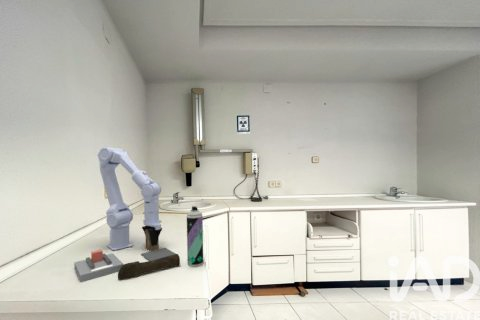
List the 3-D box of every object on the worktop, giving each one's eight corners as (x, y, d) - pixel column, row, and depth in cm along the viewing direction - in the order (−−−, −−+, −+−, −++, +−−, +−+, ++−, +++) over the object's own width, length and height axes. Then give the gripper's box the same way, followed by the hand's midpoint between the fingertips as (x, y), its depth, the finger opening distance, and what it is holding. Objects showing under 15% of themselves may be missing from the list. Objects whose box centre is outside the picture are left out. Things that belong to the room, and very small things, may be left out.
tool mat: (140, 254, 92) (140, 253, 92) (165, 248, 98) (165, 247, 98) (150, 262, 84) (150, 261, 84) (176, 254, 91) (176, 253, 91)
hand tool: (177, 263, 83) (177, 250, 83) (180, 267, 80) (180, 253, 80) (117, 277, 73) (117, 262, 73) (118, 283, 70) (118, 267, 70)
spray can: (186, 262, 83) (185, 206, 84) (201, 259, 85) (200, 204, 86) (188, 268, 78) (187, 208, 79) (204, 265, 80) (203, 206, 81)
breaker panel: (74, 268, 81) (74, 258, 81) (112, 258, 89) (112, 250, 89) (80, 282, 70) (80, 271, 70) (123, 269, 78) (123, 260, 78)
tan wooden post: (145, 248, 99) (145, 229, 99) (155, 246, 101) (154, 227, 102) (149, 251, 96) (148, 231, 96) (158, 248, 98) (158, 229, 99)
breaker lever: (91, 260, 81) (91, 251, 81) (101, 258, 83) (101, 249, 83) (92, 262, 79) (92, 253, 80) (102, 260, 81) (102, 251, 82)
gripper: (167, 212, 96) (168, 245, 96) (154, 208, 107) (154, 238, 107) (150, 214, 92) (151, 249, 91) (138, 210, 103) (138, 241, 102)
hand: (152, 243), depth 99 cm, fingers open, 4 cm apart
